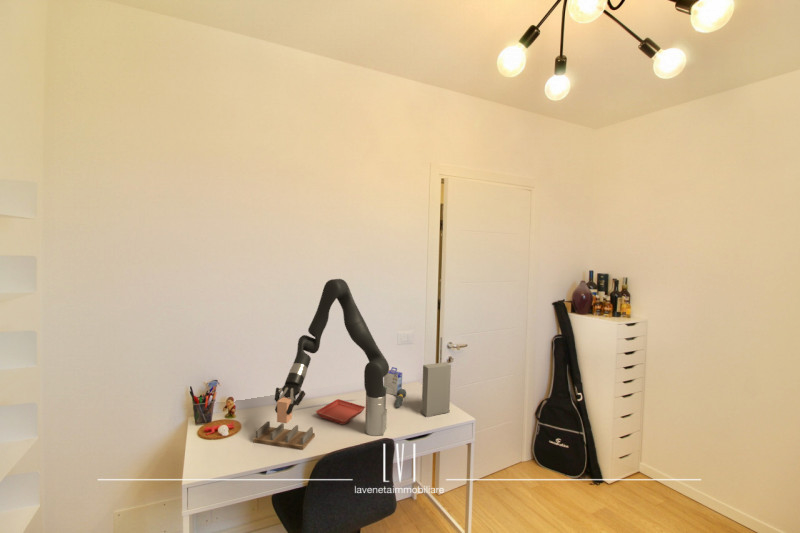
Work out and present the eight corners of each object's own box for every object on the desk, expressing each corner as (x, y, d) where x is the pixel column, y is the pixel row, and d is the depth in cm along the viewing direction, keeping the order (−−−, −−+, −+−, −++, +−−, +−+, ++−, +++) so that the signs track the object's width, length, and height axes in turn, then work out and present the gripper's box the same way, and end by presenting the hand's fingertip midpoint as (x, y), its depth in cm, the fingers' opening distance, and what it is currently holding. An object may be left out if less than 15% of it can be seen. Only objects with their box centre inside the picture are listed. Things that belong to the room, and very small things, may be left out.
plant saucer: (365, 412, 181) (365, 406, 180) (344, 427, 165) (344, 420, 164) (337, 404, 189) (337, 398, 189) (314, 418, 173) (314, 411, 173)
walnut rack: (314, 436, 155) (314, 426, 155) (303, 450, 145) (303, 439, 144) (267, 429, 160) (268, 420, 160) (253, 442, 149) (253, 432, 149)
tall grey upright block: (443, 407, 188) (444, 361, 187) (449, 412, 182) (451, 365, 181) (420, 412, 182) (422, 364, 181) (426, 417, 176) (428, 368, 175)
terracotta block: (291, 418, 154) (292, 398, 153) (286, 423, 149) (286, 402, 149) (282, 417, 155) (282, 397, 154) (276, 422, 150) (277, 401, 150)
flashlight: (404, 409, 184) (404, 400, 184) (394, 409, 185) (394, 400, 185) (406, 394, 204) (406, 386, 204) (398, 394, 204) (398, 385, 204)
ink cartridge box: (402, 393, 206) (402, 368, 205) (397, 396, 201) (398, 371, 201) (388, 389, 211) (388, 365, 210) (383, 392, 206) (383, 368, 206)
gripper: (279, 370, 160) (263, 407, 149) (308, 373, 157) (294, 412, 146) (285, 377, 165) (270, 414, 154) (313, 381, 162) (300, 418, 151)
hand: (282, 412), depth 150 cm, fingers closed on terracotta block, 4 cm apart
